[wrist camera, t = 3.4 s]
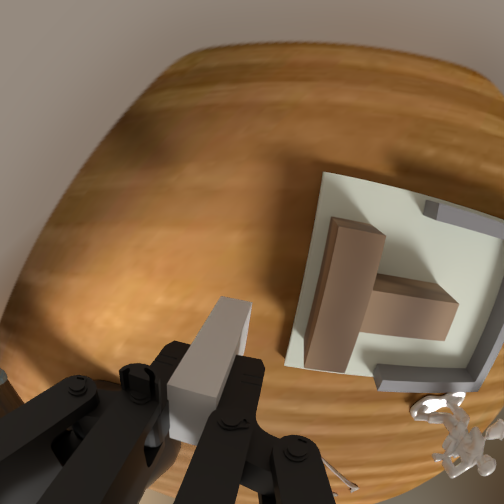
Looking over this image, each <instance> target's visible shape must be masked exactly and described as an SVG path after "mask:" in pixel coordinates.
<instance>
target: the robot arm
mask: <svg viewBox="0 0 504 504" xmlns="http://www.w3.org/2000/svg"><path fill="white" fill-rule="evenodd" d="M251 308H252V302H248V301H243V300H238V299H233V298H228V297H223V296H221V297H220V299H219V300H218V302H217V304H216V305H215V307H214V308H213V310H212V312H211V313H210V315H209V316H208V318H207V320H206V321H205V323H204V325H203V326H202V328H201V329H200V331H199V333H198V334H197V336H196V338H195V339H194V341H193V342H192V344H191V345H190V344H186V343H182V342H178V341H173V342H171V343H169V344H167V345H166V346H164V348H163V349H162V350H161V352H160V353H159V355H158V356H157V357H156V358H155V361H153V363H152V364H151V365H150V366H149V365H146V364H141V363H135V364H129V365H126V366H124V367H122V368H121V369H120V370H119V375H120V381H121V386H120V385H118V384H115V383H112V382H108V381H101V380H94V381H93V380H92V379H91V378H89V377H87V376H82V375H74V376H70V377H68V378H65V379H64V380H62V381H60V382H59V383H57V384H56V385H54V386H52V387H51V388H49V389H47V390H46V391H44V392H43V393H41V394H39V395H38V396H36V397H34V398H33V399H31V400H30V401H28V402H26V403H25V404H24V402H23V401H22V399H21V398H20V397H19V395H18V394H17V392H16V391H15V389H14V388H13V387H12V385H11V384H10V382H9V381H8V379H7V374H6V373H5V371H4V370H2V369H1V368H0V504H139V502H140V500H141V498H142V496H143V494H144V492H145V490H146V489H147V488H148V487H149V486H150V485H151V484H153V483H154V482H155V481H156V480H157V479H158V478H159V477H160V476H161V475H162V474H163V473H165V472H166V471H167V470H168V469H169V468H170V467H171V466H172V465H173V463H174V462H175V460H176V458H177V456H178V453H179V451H180V448H181V441H182V442H185V443H189V444H192V445H196V446H197V447H196V449H195V452H194V454H193V457H192V459H191V462H190V464H189V467H188V469H187V472H186V474H185V477H184V479H183V481H182V484H181V486H180V489H179V491H178V494H177V496H176V498H175V501H174V503H173V504H235V501H236V497H237V493H238V489H239V485H240V484H241V485H243V486H245V487H247V488H249V489H251V490H253V491H256V492H258V498H259V504H336V503H335V500H334V496H333V493H332V490H331V487H330V483H329V480H328V477H327V474H326V470H325V467H324V464H323V461H322V458H321V454H320V451H319V449H318V447H317V446H316V444H315V443H314V442H313V441H311V440H310V439H308V438H306V437H303V436H299V435H289V436H284V437H282V438H281V439H279V438H277V437H275V436H272V435H270V434H268V433H267V432H265V431H264V430H263V429H261V428H260V426H259V425H258V423H257V421H256V410H257V406H258V401H259V396H260V392H261V387H262V382H263V377H264V372H265V367H264V365H263V362H262V360H261V359H256V358H251V357H246V356H243V354H244V351H245V345H246V339H247V333H248V327H249V320H250V314H251Z"/></svg>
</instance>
